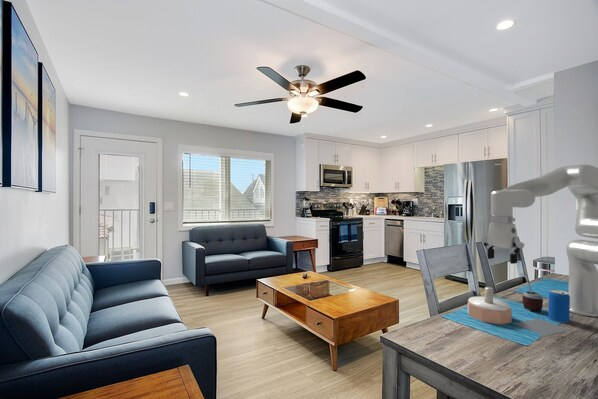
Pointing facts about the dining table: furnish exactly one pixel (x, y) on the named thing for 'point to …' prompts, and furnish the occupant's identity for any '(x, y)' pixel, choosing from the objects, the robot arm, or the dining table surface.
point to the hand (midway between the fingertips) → (501, 260)
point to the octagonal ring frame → (490, 315)
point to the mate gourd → (532, 299)
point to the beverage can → (559, 306)
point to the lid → (489, 301)
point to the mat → (541, 327)
